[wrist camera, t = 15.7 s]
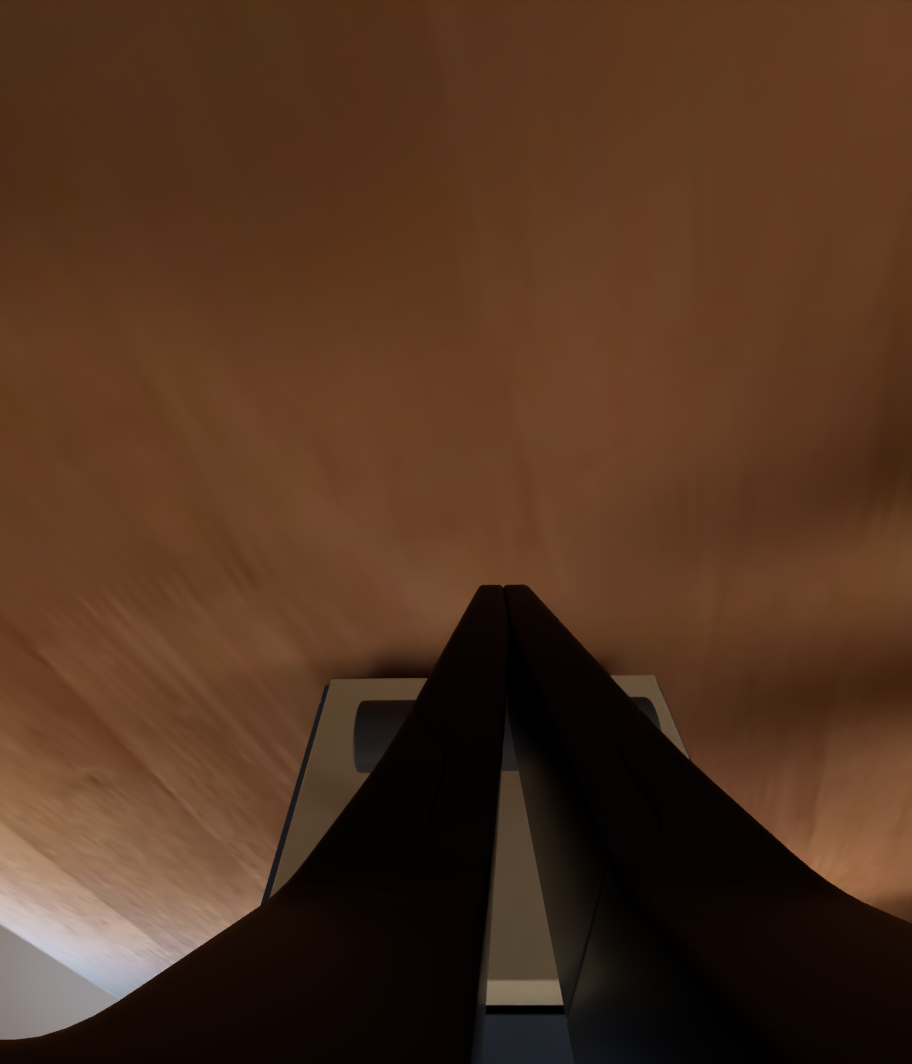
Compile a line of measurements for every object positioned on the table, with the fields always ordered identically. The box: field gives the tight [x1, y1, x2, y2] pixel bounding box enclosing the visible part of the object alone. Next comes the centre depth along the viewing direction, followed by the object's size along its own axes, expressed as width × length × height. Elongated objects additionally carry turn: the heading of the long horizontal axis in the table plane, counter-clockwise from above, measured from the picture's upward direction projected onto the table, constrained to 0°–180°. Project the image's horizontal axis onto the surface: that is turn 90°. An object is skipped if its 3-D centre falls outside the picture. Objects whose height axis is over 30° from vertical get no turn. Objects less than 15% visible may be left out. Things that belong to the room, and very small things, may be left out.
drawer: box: [270, 675, 689, 1014], centre depth 15 cm, size 15×10×8 cm
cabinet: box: [261, 682, 691, 1064], centre depth 17 cm, size 12×12×10 cm
